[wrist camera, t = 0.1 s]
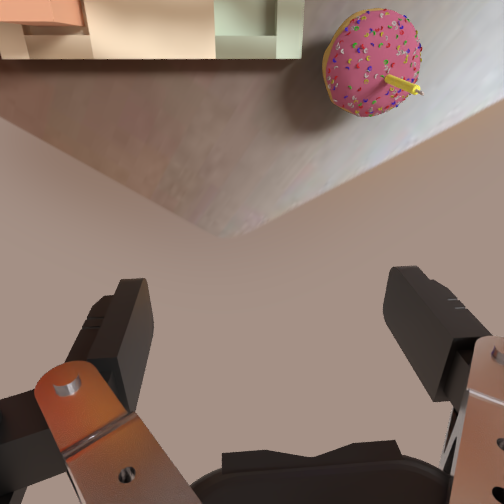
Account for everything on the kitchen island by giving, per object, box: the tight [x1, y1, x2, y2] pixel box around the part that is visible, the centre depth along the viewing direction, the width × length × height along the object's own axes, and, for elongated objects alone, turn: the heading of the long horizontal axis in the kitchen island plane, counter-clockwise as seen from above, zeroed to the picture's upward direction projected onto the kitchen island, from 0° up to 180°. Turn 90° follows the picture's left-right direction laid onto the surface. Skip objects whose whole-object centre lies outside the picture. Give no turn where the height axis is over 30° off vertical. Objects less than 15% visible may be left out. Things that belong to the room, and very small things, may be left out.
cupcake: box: [322, 8, 424, 117], centre depth 32 cm, size 9×8×12 cm
